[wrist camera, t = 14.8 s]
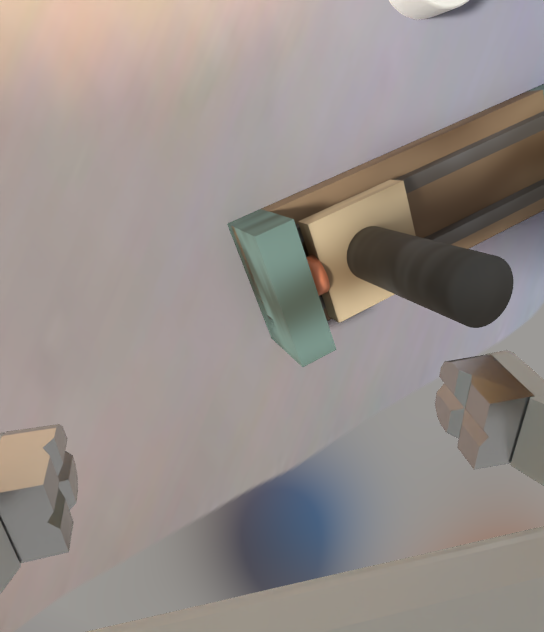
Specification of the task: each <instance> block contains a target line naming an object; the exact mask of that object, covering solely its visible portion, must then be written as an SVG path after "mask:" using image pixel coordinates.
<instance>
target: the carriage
mask: <svg viewBox="0 0 544 632" xmlns="http://www.w3.org/2000/svg"><path fill="white" fill-rule="evenodd" d="M298 223H299V226H300V229H301V232H302V235H303V238H304V241H305V245H306V248H307V251H308V254H309V256H310V255H314V256H315V257H316V258H317V259H318V260H319V261H320V262H321V264H322V265H323V267H324V269H325V271H326V273H327V276H328V279H329V283H330V289H329V291H328V292H326V293H324V294H322V297H323V300H324V303H325V306H326V309H327V312H328V316H329V317H331V318H332V319H334V320H335V321H337V322H339V323H340V322H342V321H344V320H346V319H348V318H350V317H352V316H354V315H355V314H357V313H359V312H361V311H363V310H365V309H367V308H369V307H371V306H373V305H375V304H377V303H379V302H381V301H383V300H385V299H386V298H388V297H390V296H392V295H394V294H396V295H398V296H400V297H403V298H405V299H407V300H409V301H412V302H414V303H416V304H419V305H421V306H423V307H425V308H428V309H430V310H432V311H434V312H437V313H439V314H441V315H443V316H446V317H448V318H450V319H452V320H455V321H457V322H459V323H461V324H464V325H466V326H469V327H473V328H479V327H483V326H486V325H488V324H490V323H492V322H493V321H494V320H496V319H497V318H498V317H499V316H500V315H501V314H502V312H503V311H504V309H505V308H506V306H507V304H508V302H509V300H510V298H511V294H512V290H513V275H512V271H511V268H510V266H509V265H508V263H507V262H506V261H505V260H504V259H502V258H500V257H498V256H494V255H490V254H486V253H482V252H478V251H474V250H470V249H466V248H462V247H458V246H454V245H450V244H446V243H442V242H438V241H434V240H430V239H426V238H422V237H418V236H416V235H415V230H414V226H413V221H412V217H411V212H410V208H409V203H408V199H407V195H406V190H405V186H404V181H401V180H388V181H386V182H383V183H381V184H379V185H377V186H375V187H372V188H370V189H368V190H366V191H364V192H361V193H359V194H357V195H355V196H353V197H351V198H348V199H346V200H344V201H342V202H340V203H337V204H335V205H333V206H331V207H329V208H326V209H324V210H322V211H320V212H318V213H315V214H313V215H311V216H309V217H307V218H304V219H302V220H300V221H298Z"/></svg>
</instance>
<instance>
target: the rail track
mask: <svg viewBox="0 0 544 632" xmlns="http://www.w3.org/2000/svg"><path fill="white" fill-rule="evenodd" d="M388 180H401V181H404V186H405V190H406V195H407V199H408V203H409V208H410V212H411V217H412V221H413V226H414V230H415V235H416V236H418V237H422V238H426V239H430V240H434V241H438V242H442V243H446V244H450V245H454V246H458V247H462V248H466V249H469V248H471V247H473V246H475V245H477V244H479V243H480V242H482V241H484V240H486V239H488V238H490V237H492V236H494V235H496V234H498V233H500V232H502V231H504V230H506V229H508V228H510V227H512V226H514V225H516V224H518V223H520V222H522V221H524V220H525V219H527V218H529V217H531V216H533V215H535V214H537V213H539V212H541V211H543V210H544V84H543V85H540V86H538V87H536V88H534V89H531V90H529V91H527V92H525V93H522V94H520V95H518V96H516V97H513V98H511V99H509V100H506V101H504V102H502V103H500V104H497V105H495V106H493V107H491V108H488V109H486V110H484V111H482V112H479V113H477V114H475V115H473V116H470V117H468V118H466V119H463V120H461V121H459V122H457V123H454V124H452V125H450V126H448V127H445V128H443V129H441V130H439V131H436V132H434V133H432V134H430V135H427V136H425V137H423V138H420V139H418V140H416V141H414V142H411V143H409V144H407V145H405V146H402V147H400V148H398V149H396V150H393V151H391V152H389V153H387V154H384V155H382V156H380V157H377V158H375V159H373V160H371V161H368V162H366V163H364V164H362V165H359V166H357V167H355V168H353V169H350V170H348V171H346V172H344V173H341V174H339V175H337V176H334V177H332V178H330V179H328V180H325V181H323V182H321V183H319V184H316V185H314V186H312V187H310V188H307V189H305V190H303V191H301V192H298V193H296V194H294V195H291V196H289V197H287V198H285V199H282V200H280V201H278V202H276V203H273V204H271V205H269V206H267V207H264V208H262V209H260V210H258V211H255V212H253V213H251V214H248V215H246V216H244V217H242V218H239V219H237V220H235V221H233V222H230V223H228V227H229V230H230V232H231V235H232V237H233V240H234V242H235V245H236V248H237V250H238V253H239V255H240V258H241V260H242V263H243V266H244V268H245V271H246V273H247V276H248V279H249V281H250V284H251V286H252V289H253V291H254V294H255V297H256V299H257V302H258V304H259V307H260V310H261V312H262V315H263V317H264V320H265V322H266V325H267V328H268V330H269V333H270V335H271V338H272V339H273V340H274V341H275V342H276V343H277V344H278V345H279V346H280V347H282V348H283V349H284V350H285V351H286V352H287V353H288V354H289V355H290V356H291V357H292V358H293V359H294V360H296V361H297V362H298V363H299V364H300V365H301V366H302V367H304V366H306V365H308V364H310V363H312V362H314V361H316V360H317V359H319V358H321V357H323V356H325V355H327V354H329V353H331V352H333V351H334V350H336V347H335V344H334V341H333V338H332V335H331V332H330V329H329V326H328V322H327V321H328V320H330V319H332V318H331V317H329V316H328V312H327V309H326V306H325V303H324V300H323V297H322V295H320V296H319V295H318V292H317V289H316V286H315V283H314V280H313V277H312V274H311V271H310V267H309V264H308V261H307V258H306V257H308V256H309V254H308V251H307V248H306V245H305V241H304V238H303V235H302V232H301V229H300V226H299V223H298V221H300V220H302V219H304V218H307V217H309V216H311V215H313V214H315V213H318V212H320V211H322V210H324V209H326V208H329V207H331V206H333V205H335V204H337V203H340V202H342V201H344V200H346V199H348V198H351V197H353V196H355V195H357V194H359V193H361V192H364V191H366V190H368V189H370V188H372V187H375V186H377V185H379V184H381V183H383V182H386V181H388Z"/></svg>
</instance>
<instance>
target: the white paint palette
mask: <svg viewBox="0 0 544 632" xmlns="http://www.w3.org/2000/svg"><path fill="white" fill-rule="evenodd" d="M468 1H469V0H389V2H390V3H391V4H392V6H393V7H394V8H395V9H396V10H397V11H398V12H400V13H401V14H402V15H404V16H406V17H408V18H411V19H416V20H423V19H428V18H431V17H433V16H436V15H439V14H442V13H444V12H447V11H450V10H452V9H455V8H458V7H460V6H462V5H464V4H465V3H467V2H468Z"/></svg>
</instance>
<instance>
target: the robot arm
mask: <svg viewBox="0 0 544 632" xmlns="http://www.w3.org/2000/svg"><path fill="white" fill-rule="evenodd" d="M439 377H440V378H441V380H442V381H443V382H444V384H443V386H442V387H441V388H440V389H439V390H438V391H437V393H436V401H435V406H436V412H437V417H438V419H439V421H440V424H441V425H442V427H443V428H444V430H445V431H446V432H447V433H448V434H450V435H452V436H454V437H456V438H458V439H459V440H458V449H459V450H460V451H461V453H462V454H463V455H464V457H465V458H466V459H467V461H468V462H469V463H470V465H471V466H472V467H473V469H480V468H486V467H492V466H498V465H503V464H509V463H511V464H510V465H511V466H512V467H514V468H516V469H518V470H519V471H521V472H522V473H524V474H525V475H527V476H529V477H530V478H532V479H533V480H535V481H537V482H538V483H540V484H541V485H543V486H544V379H542V378H541V377H540V376H539V375H538V374H537V373H536V372H535V371H533V370H532V369H531V368H530V367H528V365H527V364H525V363H524V362H523V361H522V360H521V359H520V358H519V357H518V356H516V355H515V354H514V353H513V352H510V351H507V350H506V351H500V352H494V353H489V354H486V355H481V356H475V357H469V358H463V359H457V360H451V361H445V362H444V363H443V365H442V367H441V370H440V376H439ZM66 444H67V437H66V434H65V431H64V429H63V426H61V425H60V424H57V425H50V426H43V427H36V428H28V429H21V430H14V431H7V432H6V433H5V432H3V433H0V594H1V593H2V591H3V590H4V589H5V587H6V586H7V584H8V583H9V582H10V580H11V579H12V578H13V576H14V575H15V574H16V572H17V571H18V570H19V568H20V567H21V564H20V563H24V562H29V561H33V560H37V559H41V558H46V557H50V556H54V555H59V554H63V553H67V552H69V548H70V541H71V535H72V528H73V519H72V516H71V513H70V509H71V508H72V507H73V506H74V505H75V504H76V501H77V493H78V477H77V470H76V465H75V461H74V458H73V455H71V454H69V453H68V452H66V451H65V449H66ZM87 632H544V526H543V527H539V528H534V529H530V530H525V531H521V532H516V533H512V534H508V535H503V536H499V537H495V538H490V539H486V540H482V541H478V542H473V543H469V544H464V545H460V546H456V547H452V548H447V549H443V550H439V551H435V552H430V553H426V554H421V555H417V556H413V557H408V558H404V559H400V560H396V561H391V562H386V563H382V564H378V565H373V566H370V567H365V568H361V569H356V570H352V571H347V572H344V573H339V574H334V575H330V576H326V577H321V578H317V579H313V580H308V581H304V582H300V583H295V584H291V585H286V586H282V587H278V588H274V589H269V590H265V591H260V592H256V593H252V594H247V595H243V596H239V597H234V598H230V599H226V600H221V601H217V602H213V603H209V604H204V605H200V606H195V607H191V608H187V609H182V610H178V611H174V612H169V613H165V614H161V615H157V616H152V617H147V618H143V619H139V620H134V621H130V622H126V623H122V624H117V625H113V626H108V627H104V628H100V629H96V630H91V631H87Z"/></svg>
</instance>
